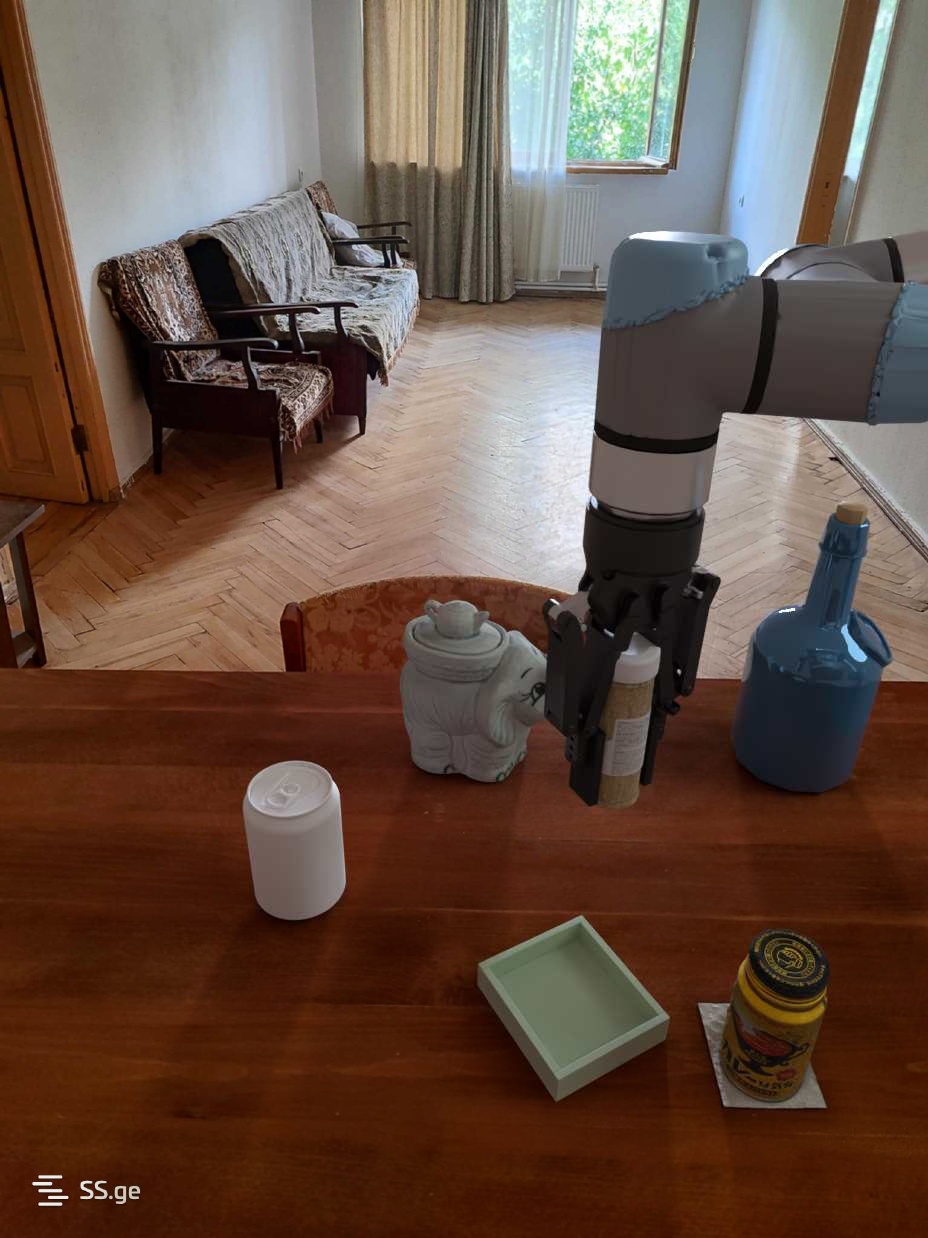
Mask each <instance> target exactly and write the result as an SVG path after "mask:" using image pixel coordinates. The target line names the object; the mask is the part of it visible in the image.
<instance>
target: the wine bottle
mask: <svg viewBox="0 0 928 1238" xmlns="http://www.w3.org/2000/svg"><path fill="white" fill-rule="evenodd" d="M868 513H869V509H868V507H867V506H866V504H864V503H862V502H859V501H855V500H843V501H841V502H840V503H838V504H837V506H836V509H835V512H833V513H830V515H829V517H828V519H827V521H826V524H825V526H824V529H823V532H822V535H821V537H820V540H819V542H818V543H817V547H818V548H819V550H818V553H817V558H816V561H815V565H814V568H813V572H812V576H811V579H810V583H809V586H808V590H807V593H806V597H805V599H804V601H803V602H802V601H801V602H796V603H793V604H790V605H786V606H781V607H779V608H775V609H773V610H771V611H769V612H768V613H767V614H766V615H765V616H764V617H763V618H762V620H761V621H760V622H759V624H758V625H757V627H756V628H755V630H754V631H753V632H752V634H751V635H750V638H749V642H748V646H747V651H746V656H745V661H744V666H743V671H742V677H741V681H740V685H739V689H738V695H737V699H736V700H737V701H736V705H735V710H734V714H733V720H732V725H731V730H730V734H729V738H730V741H731V744H732V748H733V752H734V753H735V757H736V760H737V762H738V764H739V765H741V766H742V767H743V768H744V769H746V770H747V771H748V772H749V773H750V774H752V775H753V776H754V777H756V778H757V779H758V780H759V781H761V782H765V783H767V784H769V785H773V786H775V787H778V788H781V789H783V790H786V791H788V792H799V793H800V792H802V793H824V792H826V791H829V790H831V789H834V788H837V787H839V786H842V785H845V783H846V782H848V781H849V780H850V778H851V776H852V773H853V771H854V768H855V767H856V765H857V762H858V758H859V755H860V752H861V748H862V745H863V742H864V739H865V735H866V731H867V729H868V726H869V722H870V718H871V715H872V712H873V709H874V705H875V701H876V698H877V695H878V691H879V688H880V685H881V681H882V678H883V675H884V672H885V668H886V667H888V666H889V665H891V664H892V663H893V659H894V657H893V654H892V651H891V648H890V646H889V644H888V641H887V639H886V638H885V636H884V634H883V633H882V631H881V629H880V628H879V627H878V625H877V624H876V623H875V622H874V620H873V619H871V617H869V616H868V615H866V614H865V613H863V612H862V611H861V610H859V609H858V608H853V606H854V601H855V596H856V593H857V587H858V583H859V579H860V578H859V577H860V573H861V568H862V565H863V559H864V558H865V557H866V555H867V554H868V553H869V550H868V546H869V537H870V530H871V521H870V520H869V519H868V517H867V516H868Z"/></svg>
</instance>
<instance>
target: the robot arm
mask: <svg viewBox="0 0 928 1238" xmlns="http://www.w3.org/2000/svg"><path fill="white" fill-rule="evenodd" d="M748 261H749V250H748V248H747V245H746V243H744V242H743V241H742V240H741V239H739V238H737V237H733V236H727V235H721V234H716V233H715V234H713V233H699V232H690V231H689V232H688V231H655V232H654V231H652V232H642V233H636V234H633V235H629V236H628V237H626V238H624V239H623V240H622V241H621V242H620V243H619V244H618V245H617V247H616V248H615V249H614V250H613V252H612V255H611V257H610V262H609V271H608V272H609V273H608V278H607V284H606V285H607V286H606V292H605V298H604V306H603V314H602V321H601V328H600V329H601V330H600V343H599V355H598V356H599V358H598V369H597V383H596V394H595V395H596V396H595V406H594V407H595V408H594V420H593V421H594V422H593V429H592V439H591V450H590V462H589V473H588V484H587V485H588V492H589V493H590V494H591V496H589V497H588V498H587V500H586V503H585V511H584V512H585V513H584V524H583V535H582V549H583V553H584V554H583V555H584V559H585V569H584V572H583V574H582V577H581V578H580V580H579V583H578V586H577V592H576V593H574V594H572V595H571V596H569V597H568V598H567V599H565V600H563V601H562V602H559V601H557V600H556V599H553V598H551V599H550V598H549V599H547V600H546V601H545V602H544V603H543V604H542V607H541V614H542V616H543V619H544V622H545V626H546V628H547V631H548V632H547V648H546V655H547V664H546V682H545V700H544V717H545V718H546V719H545V720H547V721H548V722H549V723H550V724H551V725H552V726H553V727H554V728H555V729H556V730H557V731H558V732H559V733H560V734H561V735H562V736H563V737H565V749H564V756H565V759H566V760H567V762H568V763H569V764H570V768H569V769H570V770H569V779H568V786H569V788H570V789H571V790H572V792H574V793H575V794H576V795H577V796H578V797H579V798H580V799H581V800H582V801H583V802H584V803H585V805H587V806H588V807H589V808H591V807H593V806H595V805H596V804H598V796H599V788H600V780H601V772H602V763H603V755H604V747H605V739H606V733H605V732H604V731H602V730H601V729H600V728H599V727H598V726H599V722H600V719H601V716H602V713H603V710H604V707H605V703H606V700H607V697H608V694H609V691H610V687H611V684H612V681H613V678H614V673H615V666H616V662H617V660H618V659H620V656H621V653H622V652H626V651H627V650H628V648H629V645H630V642H631V639H632V636H633V633H635V632H638V633H639V634H641V635H642V636H643V637H645V638H646V639H648V640H649V641H650V642H652V643H653V644H654V645H656V646H657V647H659V648H660V651H661V653H660V663H659V669H658V673H657V674H656V676H655V679H654V686H653V692H652V700H651V713H650V720H649V727H648V733H647V740H646V746H645V753H644V759H643V765H642V767H641V772H640V779H639V784H640V785H641V786H642V787H646V786H648V785H650V784H651V785H652V782H653V776H654V775H653V774H654V769H655V762H656V755H657V750H658V749H657V748H658V742H660V741H662V739H663V737H664V735H665V728H666V723H667V717H668V716H669V717H674V716H676V715H677V714H679V712H680V711H681V708H682V705H681V704H680V703H678V702H677V701H676V700H675V699H677V698H678V697H680V696H681V697H683V698H688V697H689V696H690V695H691V694H693V692H694V690H695V686H696V681H697V674H698V669H699V665H700V659H701V655H702V649H703V645H704V640H705V635H706V628H707V624H708V620H709V619H708V618H709V614H710V608H711V606H712V603H713V601H714V598H715V597H716V595H717V592H718V590H719V588H720V586H721V583H722V579H721V577H720V576H719V575H717V574H715V573H713V572H712V571H710V570H709V569H707V568H705V567H703V566H701V565H699V563H697V561H698V559H699V557H700V552H701V546H702V540H703V532H704V526H705V521H706V515H707V514H706V510H705V508H704V507H703V506H705V505H706V504H707V503H708V502H709V499H710V493H711V487H712V479H713V474H714V467H715V460H716V455H717V453H716V452H717V447H718V440H719V434H720V427H721V423H722V418H723V415H724V414H727V413H731V414H740V415H752V416H753V415H755V416H756V415H757V416H769V417H781V418H794V419H795V418H796V419H809V420H824V421H836V422H848V423H850V422H851V423H864V424H867V425H868V426H872V427H875V426H877V425H886V424H887V425H889V424H891V425H892V424H893V425H894V424H895V425H896V424H897V425H898V424H899V425H900V424H901V425H902V424H924V423H927V422H928V228H927V229H922V230H916V231H911V232H906V233H901V234H895V235H890V236H889V237H883V238H876V239H868V240H864V241H863V240H862V241H858V242H857V241H856V242H852V243H847V244H842V245H841V244H840V245H835V246H829V245H826V244H818V243H815V242H813V243H812V242H811V243H805V244H803V243H802V244H796V245H792V246H789V247H788V246H787V247H786V248H783V249H782V250H779V251H777V252H776V253H774V254H773V255H772V256H771V257H769V258H768V259H767V260H766V261H765V262H763V264H762V265H761V266H759V268H758V270H757V271H756V272H755V274H754V275H753V274H750V266H749V265H748V263H749V262H748ZM587 612H588V614H587ZM586 614H587V617H586ZM583 633H585V635H586V638H585V642H584V634H583ZM678 671H680V672H678Z"/></svg>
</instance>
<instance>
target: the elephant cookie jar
mask: <svg viewBox="0 0 928 1238" xmlns="http://www.w3.org/2000/svg"><path fill="white" fill-rule="evenodd" d="M423 608H424V613H425V615H422V616H419V617H416V618H414V619H412V620H411V621H409V622H408V623H407V625H406V626H405V629H404V633H403V642H402V643H403V644H402V645H403V647H404V650H405V653H406V656H407V659H408V660H407V661H406V662H405V663H404V666H403V668H402V670H401V672H400V678H399V691H400V698H401V705H402V711H403V712H402V713H403V721H404V725H405V730H406V732H407V734H408V737H409V742H410V751H411V752H410V753H411V755H410V756H411V760H412V761H413V763H414V764H415V765H416V766H417V767H419V768H420V769H422V770H423V771H426V772H428V773H432V774H437V775H439V774H440V775H443V774H444V775H449V774H457V773H460V774H463V775H465V776H466V777H468V778H470V779H473V780H476V781H478V782H483V783H494V782H501V781H503V780H505V778H507V777H508V776H509V775H510V773H511V771H512V770H513V769H514V767H515V766H516V765H517V764H518V763H519V762H521V761H522V760H523V759H524V758H525V757H526V755H527V753H528V746H527V740H528V737H529V734H530V732H531V728H532V726H533V725H537V724H540V723H542V722H544V721H545V720H547V719H546V718H545V717H544V700H545V682H546V664H547V653H544V652H543V651H541V650H540V649H538V648H537V647H536V646H535V645H534V644H533V643H531V642H530V641H529V640H528V639H527V638H526V636H524V635H523V634H522V633H521V632H520V631H518V630H510V631H508V632H507V631H506V629H505V628H504V627H503V626H501V625H500V624H498V623H495V622H493V621H492V620H489V617H490V613H489V611H487V610H483V611H479V610H478V609H477V607H476V606H475V605H473V604H472V603H470V602H468V601H465V600H460V599H459V600H458V599H457V600H452V601H448V602H446V603H444V604H443V603H440V602H439V601H436V600H435V599H428V600H427V601H425V603H424V606H423ZM433 609H434V610H435V612H436V613H435V612H434V611H433Z"/></svg>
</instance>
